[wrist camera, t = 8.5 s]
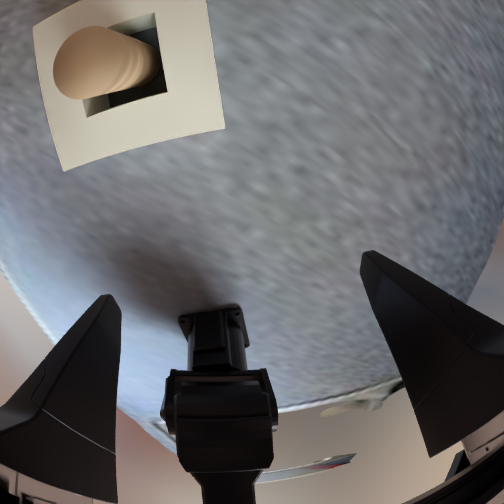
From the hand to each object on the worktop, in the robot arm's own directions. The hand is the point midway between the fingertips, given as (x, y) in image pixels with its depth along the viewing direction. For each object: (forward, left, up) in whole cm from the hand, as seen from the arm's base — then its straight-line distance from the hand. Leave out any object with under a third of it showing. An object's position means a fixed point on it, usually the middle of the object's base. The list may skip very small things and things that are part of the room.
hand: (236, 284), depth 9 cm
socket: (+8, +5, -12) cm, 15 cm away
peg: (+8, +5, -12) cm, 15 cm away
